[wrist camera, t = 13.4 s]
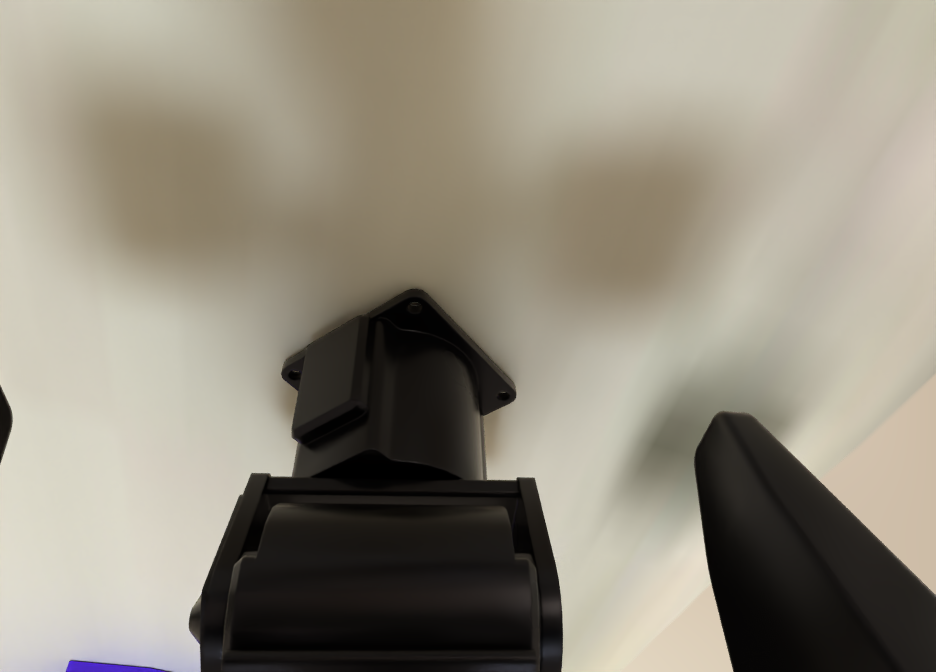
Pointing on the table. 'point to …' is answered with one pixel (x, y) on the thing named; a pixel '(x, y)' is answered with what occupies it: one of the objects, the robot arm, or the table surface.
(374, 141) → the table surface
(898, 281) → the table surface
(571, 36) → the table surface
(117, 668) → the bracket
